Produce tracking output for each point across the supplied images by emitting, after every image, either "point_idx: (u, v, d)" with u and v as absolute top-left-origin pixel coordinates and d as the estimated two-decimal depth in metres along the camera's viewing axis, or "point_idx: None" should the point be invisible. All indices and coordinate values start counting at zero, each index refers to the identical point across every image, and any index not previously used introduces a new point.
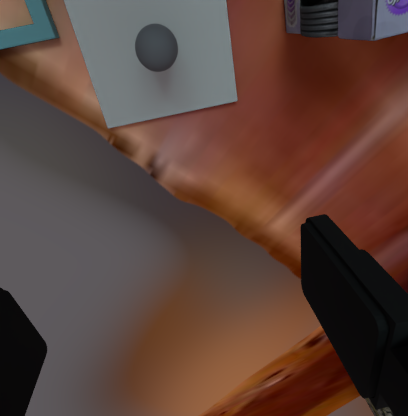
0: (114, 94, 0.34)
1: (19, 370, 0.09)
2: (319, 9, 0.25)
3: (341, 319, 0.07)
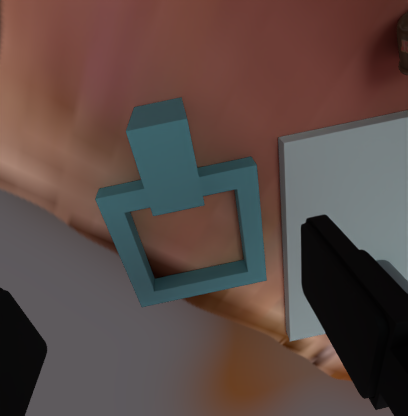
0: (309, 315, 0.30)
1: (19, 370, 0.09)
2: None
3: (341, 319, 0.07)
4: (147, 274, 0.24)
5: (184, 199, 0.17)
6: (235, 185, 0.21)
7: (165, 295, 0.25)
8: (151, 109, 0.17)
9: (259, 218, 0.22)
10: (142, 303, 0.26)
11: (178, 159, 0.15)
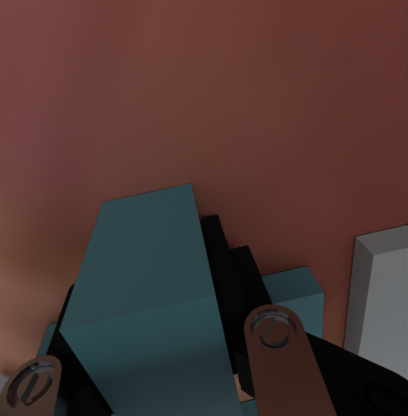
0: None
1: None
2: None
3: None
4: None
5: None
6: None
7: None
8: (133, 220, 0.09)
9: None
10: None
11: (192, 363, 0.07)
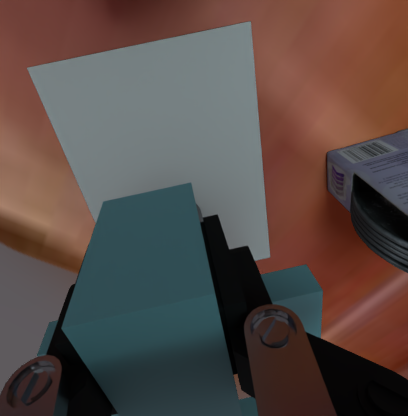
0: None
1: None
2: (386, 236, 0.21)
3: None
4: None
5: (201, 413, 0.08)
6: None
7: None
8: (133, 219, 0.09)
9: None
10: None
11: (192, 360, 0.07)
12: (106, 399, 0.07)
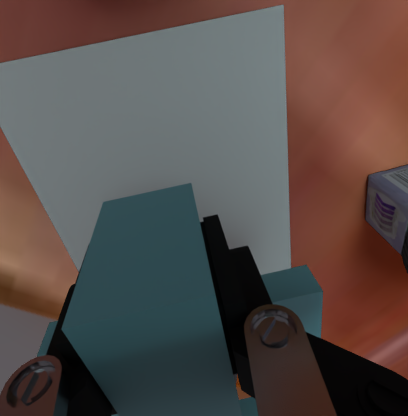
0: None
1: None
2: None
3: None
4: None
5: (202, 414, 0.08)
6: None
7: None
8: (133, 219, 0.09)
9: None
10: None
11: (192, 361, 0.07)
12: (105, 399, 0.07)
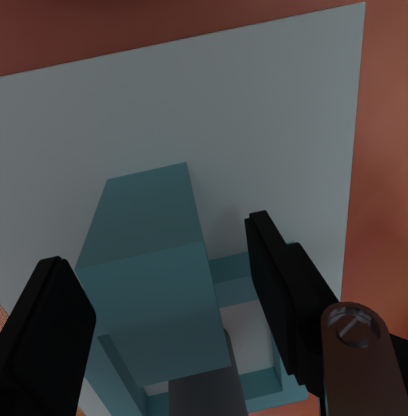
0: None
1: (79, 331, 0.09)
2: None
3: (270, 304, 0.08)
4: (136, 405, 0.16)
5: (195, 360, 0.09)
6: None
7: None
8: (134, 191, 0.10)
9: None
10: None
11: (185, 306, 0.08)
12: None
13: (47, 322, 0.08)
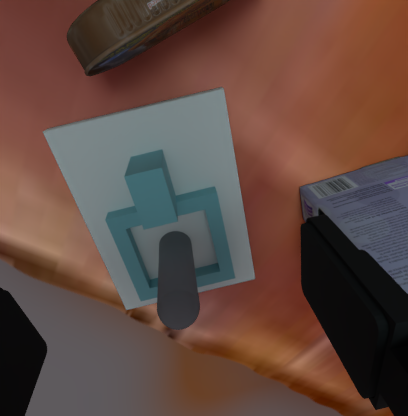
0: None
1: (19, 370, 0.09)
2: None
3: (341, 319, 0.07)
4: (144, 274, 0.32)
5: (164, 217, 0.25)
6: (203, 207, 0.29)
7: None
8: (141, 159, 0.26)
9: (223, 230, 0.31)
10: (141, 298, 0.34)
11: (158, 192, 0.24)
12: None
13: None
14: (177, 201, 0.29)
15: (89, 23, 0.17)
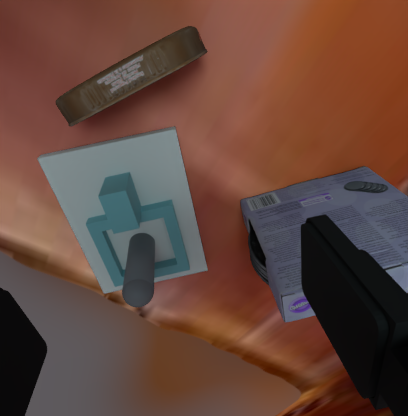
0: None
1: (19, 370, 0.09)
2: (257, 262, 0.34)
3: (341, 319, 0.07)
4: (117, 266, 0.41)
5: (128, 225, 0.34)
6: (162, 215, 0.38)
7: None
8: (112, 180, 0.35)
9: (178, 233, 0.40)
10: (115, 284, 0.43)
11: (123, 207, 0.33)
12: None
13: None
14: (141, 211, 0.37)
15: (71, 100, 0.25)
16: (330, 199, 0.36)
